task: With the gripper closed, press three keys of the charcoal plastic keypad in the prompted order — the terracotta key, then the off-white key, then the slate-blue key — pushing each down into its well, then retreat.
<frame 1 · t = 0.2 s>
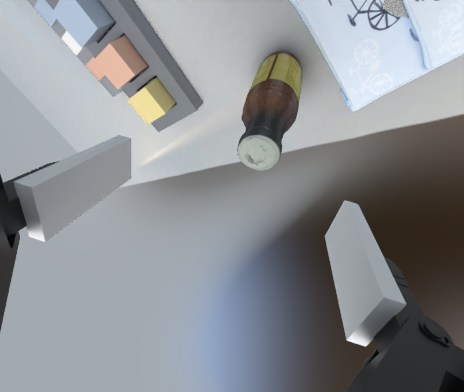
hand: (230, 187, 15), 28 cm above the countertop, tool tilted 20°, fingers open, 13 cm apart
key slate: (84, 17, 33), point 5 cm above the countertop, slide at 0.0 cm
key terracotta: (121, 63, 36), point 5 cm above the countertop, slide at 0.0 cm
sauce bottle: (282, 72, 35), on the countertop
key mustard: (152, 101, 39), point 5 cm above the countertop, slide at 0.0 cm
keypad: (105, 10, 36), on the countertop
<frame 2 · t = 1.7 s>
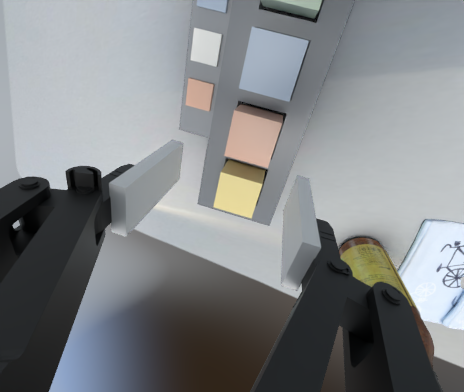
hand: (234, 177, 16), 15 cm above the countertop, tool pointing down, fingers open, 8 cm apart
key slate: (272, 65, 22), point 4 cm above the countertop, slide at 0.0 cm
key terracotta: (254, 135, 25), point 5 cm above the countertop, slide at 0.0 cm
sauce bottle: (360, 251, 35), on the countertop
key mustard: (239, 188, 28), point 4 cm above the countertop, slide at 0.0 cm
keypad: (275, 64, 26), on the countertop
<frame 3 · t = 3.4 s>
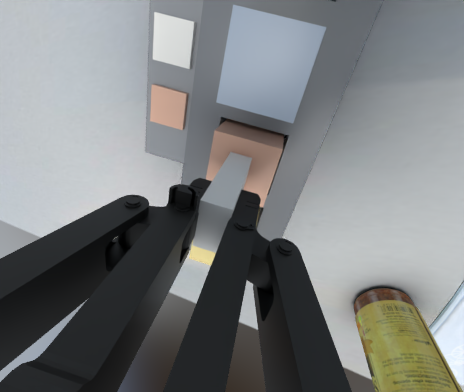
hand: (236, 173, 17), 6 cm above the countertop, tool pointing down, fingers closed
key slate: (268, 67, 14), point 4 cm above the countertop, slide at 0.0 cm
key terracotta: (244, 161, 19), point 4 cm above the countertop, slide at 0.9 cm, touching gripper
sauce bottle: (382, 303, 27), on the countertop
key mustard: (225, 232, 21), point 4 cm above the countertop, slide at 0.0 cm
keypad: (273, 66, 18), on the countertop
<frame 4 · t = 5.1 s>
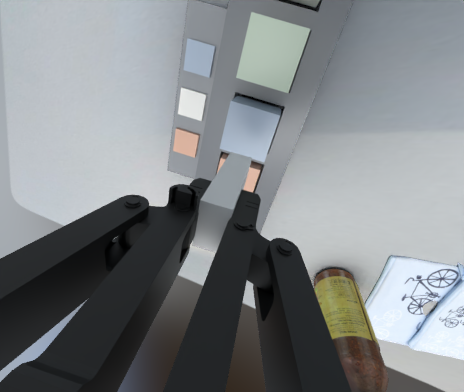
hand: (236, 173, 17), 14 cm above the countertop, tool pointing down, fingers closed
key sage: (272, 55, 21), point 4 cm above the countertop, slide at 0.0 cm
key slate: (250, 128, 24), point 4 cm above the countertop, slide at 0.0 cm
key terracotta: (238, 175, 30), point 2 cm above the countertop, slide at 2.3 cm
sauce bottle: (334, 280, 38), on the countertop
folded patterned cloth: (431, 304, 37), on the countertop
keypad: (255, 118, 28), on the countertop
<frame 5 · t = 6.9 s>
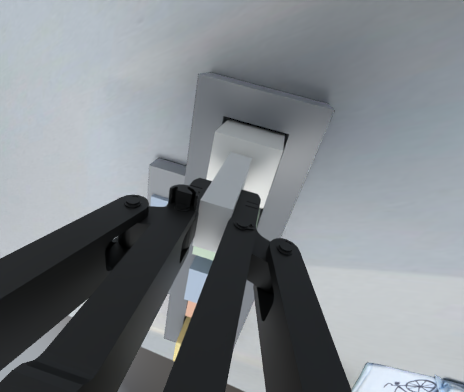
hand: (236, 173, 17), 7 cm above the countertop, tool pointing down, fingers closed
key sage: (227, 228, 22), point 4 cm above the countertop, slide at 0.0 cm
key slate: (214, 276, 25), point 4 cm above the countertop, slide at 0.0 cm
key terracotta: (210, 296, 30), point 2 cm above the countertop, slide at 2.3 cm
key mustard: (197, 341, 32), point 4 cm above the countertop, slide at 0.0 cm
keypad: (224, 247, 29), on the countertop
key white: (245, 162, 19), point 4 cm above the countertop, slide at 0.2 cm, touching gripper
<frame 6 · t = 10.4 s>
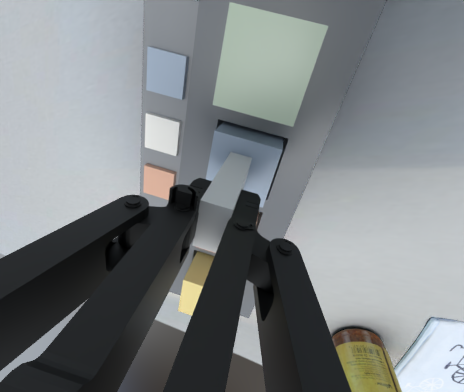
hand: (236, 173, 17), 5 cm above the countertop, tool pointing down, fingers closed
key sage: (267, 68, 14), point 4 cm above the countertop, slide at 0.0 cm
key slate: (244, 161, 19), point 3 cm above the countertop, slide at 1.6 cm, touching gripper
key terracotta: (229, 222, 23), point 2 cm above the countertop, slide at 2.3 cm
sauce bottle: (356, 340, 30), on the countertop
key mustard: (210, 286, 24), point 4 cm above the countertop, slide at 0.0 cm
keypad: (249, 149, 21), on the countertop
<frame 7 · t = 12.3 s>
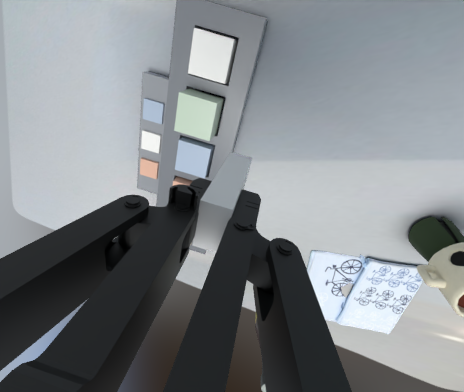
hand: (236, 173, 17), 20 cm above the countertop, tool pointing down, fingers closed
character mug: (428, 230, 38), on the countertop
key sage: (199, 114, 31), point 4 cm above the countertop, slide at 0.0 cm
key slate: (196, 155, 36), point 2 cm above the countertop, slide at 2.3 cm
key terracotta: (189, 191, 39), point 2 cm above the countertop, slide at 2.3 cm
folded patterned cloth: (350, 287, 48), on the countertop
keypad: (200, 150, 38), on the countertop
key white: (214, 57, 29), point 2 cm above the countertop, slide at 2.3 cm
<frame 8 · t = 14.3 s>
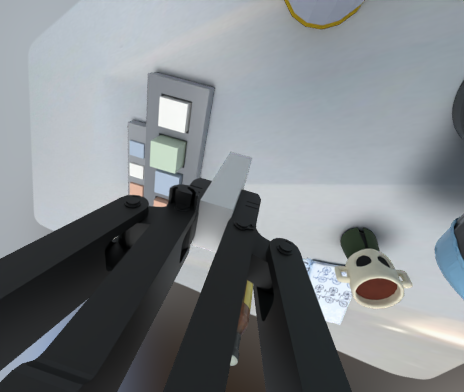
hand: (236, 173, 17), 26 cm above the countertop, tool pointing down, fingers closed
character mug: (356, 238, 48), on the countertop
key sage: (168, 153, 42), point 4 cm above the countertop, slide at 0.0 cm
key slate: (170, 180, 47), point 2 cm above the countertop, slide at 2.3 cm
key terracotta: (168, 207, 50), point 2 cm above the countertop, slide at 2.3 cm
sauce bottle: (242, 270, 58), on the countertop
folded patterned cloth: (304, 285, 57), on the countertop
keypad: (175, 176, 49), on the countertop
key white: (177, 113, 40), point 2 cm above the countertop, slide at 2.3 cm
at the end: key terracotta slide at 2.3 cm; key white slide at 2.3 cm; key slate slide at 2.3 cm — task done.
